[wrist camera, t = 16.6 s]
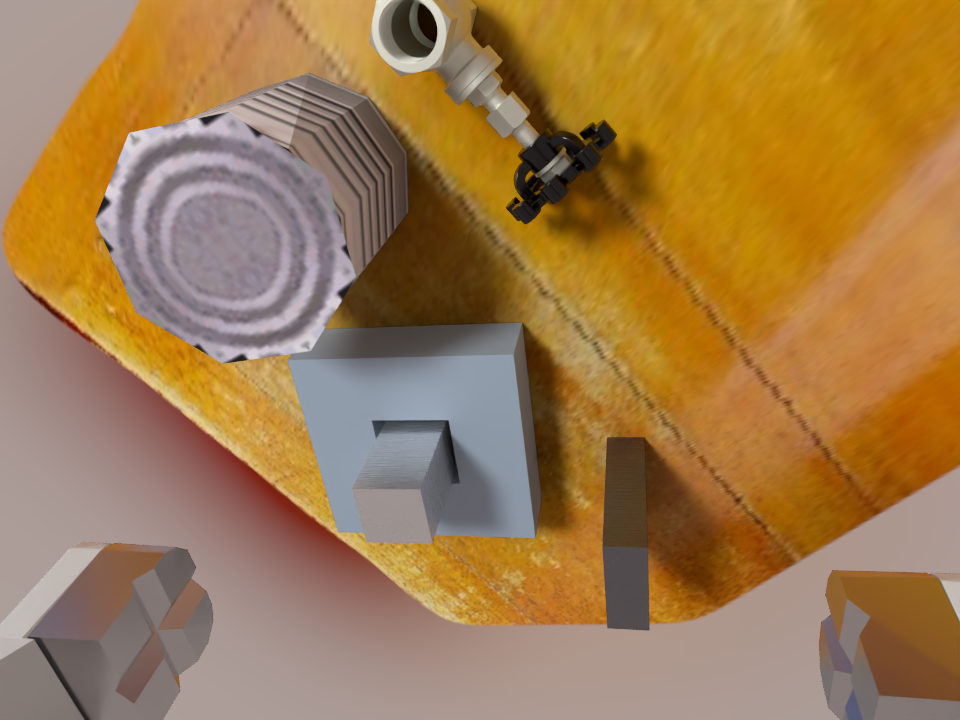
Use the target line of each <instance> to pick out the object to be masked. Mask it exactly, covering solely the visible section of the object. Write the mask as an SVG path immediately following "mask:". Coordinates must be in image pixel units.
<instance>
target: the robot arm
mask: <svg viewBox="0 0 960 720" xmlns="http://www.w3.org/2000/svg"><path fill="white" fill-rule="evenodd" d="M195 569H196V566H195V564H194V562H193V560H192V558H191V556H190V554H189V552H188V550H186V549H182V548H178V547H167V546H151V545H136V544H121V543H114V544H111V543H95V542H82V543H80V544H78V545H76V546H74V547H71V548H70V549H69V550H68V551H67V552H66V553H65V554H64V555H63V556H62V557H61V559H60V560H59V561H58V562H57V563H56V564H55V565H54V566H53V567H52V568H51V570H50V571H49V572H48V573H47V574H46V575H45V576H44V577H43V578H42V579H41V580H40V581H39V582H38V584H37V585H36V586H35V587H34V588H33V589H32V590H31V591H30V592H29V593H28V595H27V596H26V597H25V598H24V599H23V600H22V601H21V602H20V603H19V604H18V605H17V606H16V608H15V609H14V610H13V611H12V612H11V613H10V614H9V615H8V616H7V617H6V618H5V620H4V621H3V622H2V623H1V624H0V720H163V719H164V717H165V715H166V714H167V712H168V710H169V709H170V707H171V705H172V704H173V702H174V700H175V699H176V697H177V695H178V694H179V692H180V683H179V675H180V674H181V673H182V672H184V671H185V670H186V669H188V668H189V667H190V666H192V665H193V664H194V663H196V662H197V661H198V660H199V658H200V656H201V654H202V653H203V651H204V649H205V647H206V645H207V644H208V641H209V637H210V632H211V628H212V624H213V611H212V603H211V601H210V599H209V596H208V594H207V591H206V590H205V589H203V588H202V587H201V586H199V584H197V583H196V582H195V581H194V580H192V579H191V578H192V576H193V574H194V571H195ZM825 595H826V598H827V602H828V605H829V609H830V612H831V615H830V616H829V617H827V618H826V619H825V620H823V621H822V622H821V630H820V639H819V652H820V653H819V655H820V670H821V676H822V682H823V688H824V692H825V696H826V700H827V704H828V708H829V709H830V710H831V711H832V712H833V713H834V714H835V715H836V716H837V717H838V718H839V719H840V720H960V574H946V573H931V574H927V573H911V572H875V571H838V570H832V572H831V574H830V576H829V578H828V583H827V589H826V594H825Z"/></svg>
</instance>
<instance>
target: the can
mask: <svg viewBox="0 0 960 720" xmlns="http://www.w3.org/2000/svg"><path fill="white" fill-rule="evenodd" d="M407 213H408V176H407V152H406V150H405V149H404V147H403V146H402V144H401V143H400V142H399V140H398V139H397V137H396V136H395V134H394V133H393V131H392V130H391V129H390V127H389V126H388V124H387V123H386V121H385V120H384V118H383V117H382V115H381V114H380V113H379V111H378V110H377V108H376V107H375V105H374V104H373V102H372V101H371V100H370V98H369V97H367V96H364V95H362V94H359V93H357V92H354V91H352V90H349V89H347V88H345V87H342V86H340V85H337V84H335V83H332V82H330V81H327V80H325V79H323V78H320V77H318V76H315V75H313V74H310V73H308V74H305V75H302V76H299V77H295V78H292V79H289V80H286V81H283V82H279V83H276V84H273V85H270V86H267V87H263V88H260V89H257V90H254V91H252V92H249V93H247V94H245V95H242V96H240V97H238V98H235V99H233V100H231V101H228V102H226V103H224V104H221V105H219V106H216V107H214V108H212V109H209V110H207V111H205V112H202V113H200V114H198V115H195V116H193V117H191V118H188V119H186V120H184V121H181V122H178V123H174V124H169V125H164V126H160V127H155V128H150V129H145V130H141V131H136V132H131V133H129V135H128V137H127V140H126V142H125V145H124V147H123V150H122V152H121V155H120V157H119V160H118V162H117V165H116V168H115V170H114V173H113V175H112V178H111V180H110V183H109V185H108V188H107V190H106V193H105V195H104V198H103V201H102V203H101V206H100V208H99V211H98V213H97V216H96V218H95V222H96V224H97V226H98V228H99V231H100V233H101V235H102V237H103V239H104V242H105V244H106V246H107V248H108V250H109V253H110V255H111V257H112V259H113V262H114V264H115V266H116V268H117V270H118V273H119V275H120V277H121V279H122V282H123V284H124V286H125V288H126V290H127V293H128V295H129V297H130V299H131V302H132V304H133V306H134V308H135V310H136V313H138V314H139V315H141V316H143V317H145V318H146V319H148V320H150V321H151V322H153V323H155V324H156V325H158V326H160V327H162V328H163V329H165V330H167V331H168V332H170V333H172V334H173V335H175V336H177V337H179V338H180V339H182V340H184V341H185V342H187V343H189V344H190V345H192V346H194V347H196V348H197V349H199V350H201V351H202V352H204V353H206V354H208V355H209V356H211V357H213V358H214V359H216V360H218V361H219V362H221V363H230V362H237V361H244V360H251V359H258V358H265V357H272V356H279V355H286V354H293V353H300V352H307V351H311V350H312V348H313V346H314V345H315V343H316V341H317V340H318V338H319V337H320V335H321V333H322V332H323V330H324V329H325V327H326V325H327V324H328V322H329V320H330V319H331V317H332V316H333V314H334V312H335V311H336V309H337V308H338V306H339V304H340V303H341V301H342V299H343V298H344V296H345V295H346V293H347V291H348V290H349V289H350V287H351V286H352V285H353V284H354V282H355V281H356V280H357V278H358V277H359V276H360V275H361V273H362V272H363V271H364V270H365V268H366V267H367V266H368V264H369V263H370V262H371V261H372V259H373V258H374V257H375V255H376V254H377V253H378V252H379V250H380V249H381V248H382V246H383V245H384V244H385V242H386V241H387V240H388V238H389V237H390V236H391V234H392V233H393V232H394V230H395V229H396V228H397V226H398V225H399V224H400V222H401V221H402V220H403V218H404V217H405V216H406V214H407Z"/></svg>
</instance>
